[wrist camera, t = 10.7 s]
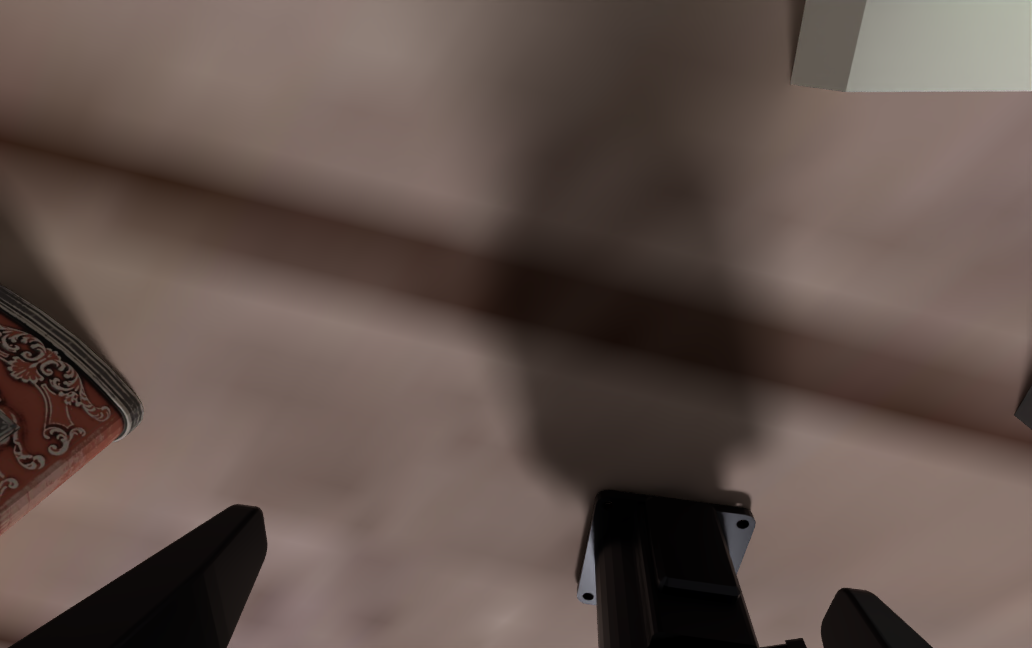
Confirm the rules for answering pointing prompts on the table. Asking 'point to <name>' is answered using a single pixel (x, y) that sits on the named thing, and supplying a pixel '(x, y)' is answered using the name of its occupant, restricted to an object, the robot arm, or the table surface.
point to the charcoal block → (1026, 410)
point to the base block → (915, 45)
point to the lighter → (51, 406)
